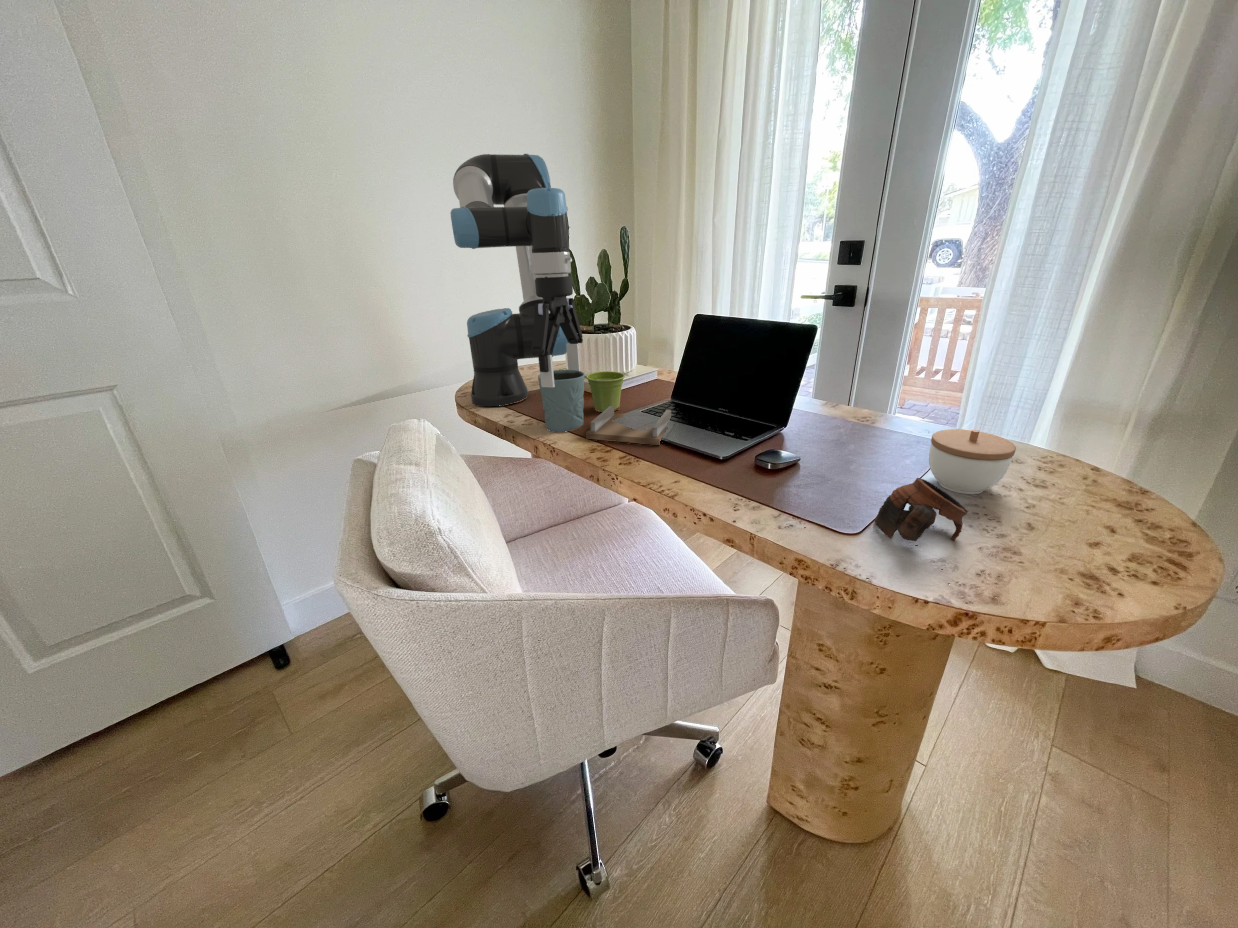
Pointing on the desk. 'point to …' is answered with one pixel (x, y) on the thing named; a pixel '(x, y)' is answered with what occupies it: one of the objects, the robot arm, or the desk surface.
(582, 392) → the blue ceramic cup
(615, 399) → the plant pot
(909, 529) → the pottery mug
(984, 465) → the lidded jar
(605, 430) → the board
